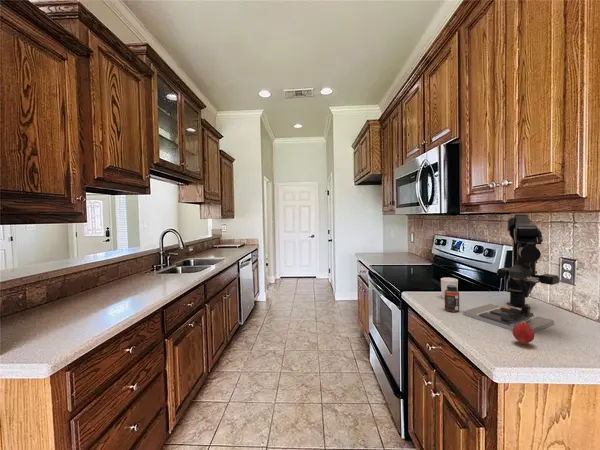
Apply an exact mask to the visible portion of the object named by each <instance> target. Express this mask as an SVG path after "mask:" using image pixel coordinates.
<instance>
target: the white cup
mask: <svg viewBox="0 0 600 450" xmlns="http://www.w3.org/2000/svg"><path fill="white" fill-rule="evenodd" d="M447 285H455V286H457V291H459V290H458V285H459V279H457V278H454V277H442V278H440V288H441V289H440V290H441V298H442V299H443V300H445V290H447Z"/></svg>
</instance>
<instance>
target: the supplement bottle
mask: <svg viewBox="0 0 600 450" xmlns="http://www.w3.org/2000/svg"><path fill="white" fill-rule="evenodd" d="M444 310H445V311H447V312H451V313H457V312H459V311H460V292H459V290H457V286H455V285H447V290H445V299H444Z"/></svg>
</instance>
